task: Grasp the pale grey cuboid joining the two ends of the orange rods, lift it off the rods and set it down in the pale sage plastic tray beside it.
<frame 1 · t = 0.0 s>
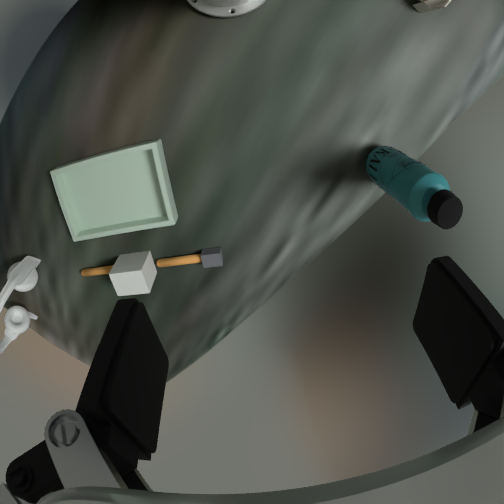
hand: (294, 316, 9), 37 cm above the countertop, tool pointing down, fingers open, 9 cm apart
architectural model: (421, 1, 29), on the countertop
headset: (30, 285, 53), on the countertop
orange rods: (138, 263, 51), on the countertop
tray: (114, 190, 44), on the countertop
pale grey cuboid: (138, 263, 51), on the countertop
beverage bottle: (377, 161, 44), on the countertop
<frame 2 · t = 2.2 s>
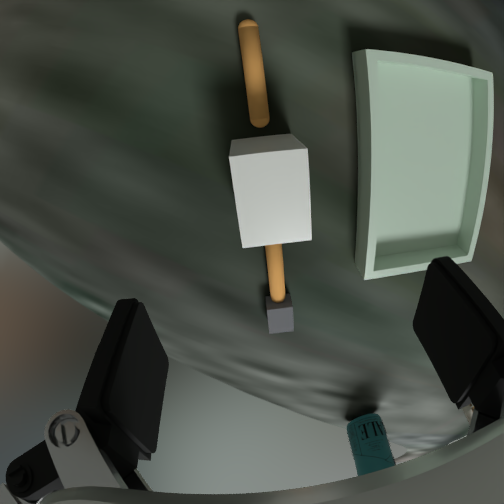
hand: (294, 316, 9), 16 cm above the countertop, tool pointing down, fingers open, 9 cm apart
architectural model: (464, 399, 50), on the countertop
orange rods: (265, 173, 23), on the countertop
tray: (422, 163, 23), on the countertop
pale grey cuboid: (265, 173, 23), on the countertop
beverage bottle: (361, 414, 44), on the countertop
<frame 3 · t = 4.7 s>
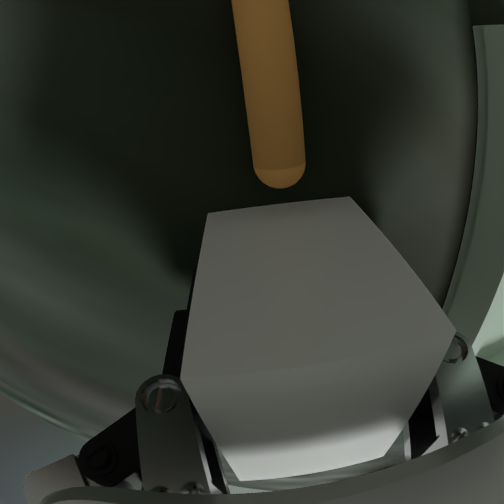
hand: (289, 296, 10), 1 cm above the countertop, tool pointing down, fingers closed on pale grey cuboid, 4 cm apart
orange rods: (286, 282, 11), on the countertop
pale grey cuboid: (286, 282, 11), on the countertop, touching gripper
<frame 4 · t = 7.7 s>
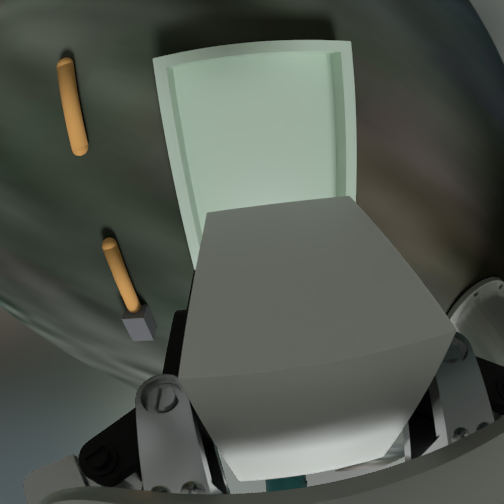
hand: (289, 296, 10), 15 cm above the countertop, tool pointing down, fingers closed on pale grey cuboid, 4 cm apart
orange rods: (97, 195, 23), on the countertop
tray: (264, 167, 23), on the countertop
pale grey cuboid: (285, 281, 11), point 14 cm above the countertop, touching gripper
beverage bottle: (278, 424, 45), on the countertop
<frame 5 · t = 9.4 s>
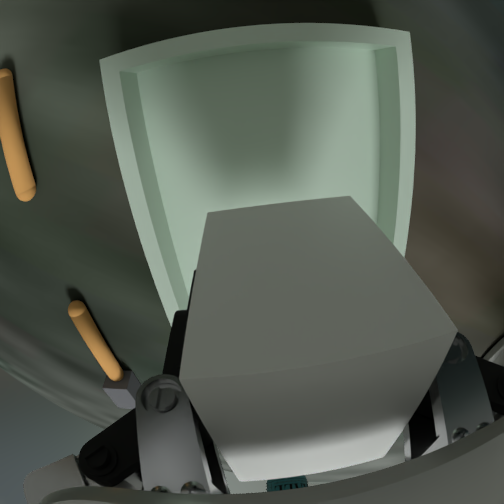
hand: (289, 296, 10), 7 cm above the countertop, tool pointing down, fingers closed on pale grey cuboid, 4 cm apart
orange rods: (55, 249, 16), on the countertop
tray: (275, 216, 16), on the countertop
pale grey cuboid: (286, 281, 11), point 6 cm above the countertop, touching gripper
beverage bottle: (285, 470, 38), on the countertop
when the fingers open (3 cm above the countertop, at t = 10.9 s): pale grey cuboid drops 1 cm, resting on tray.
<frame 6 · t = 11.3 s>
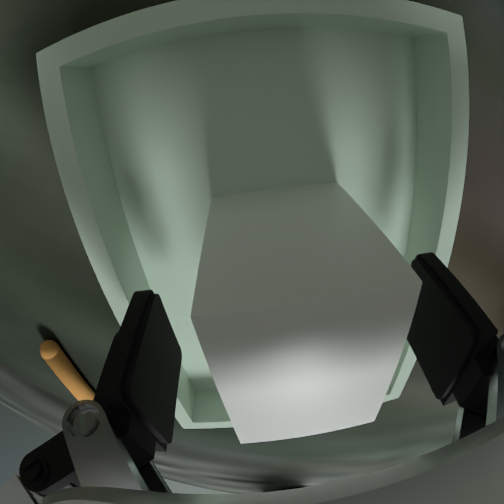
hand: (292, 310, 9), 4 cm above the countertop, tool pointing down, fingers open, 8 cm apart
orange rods: (19, 284, 13), on the countertop
tray: (279, 252, 12), on the countertop
pale grey cuboid: (282, 260, 12), point 1 cm above the countertop, touching tray
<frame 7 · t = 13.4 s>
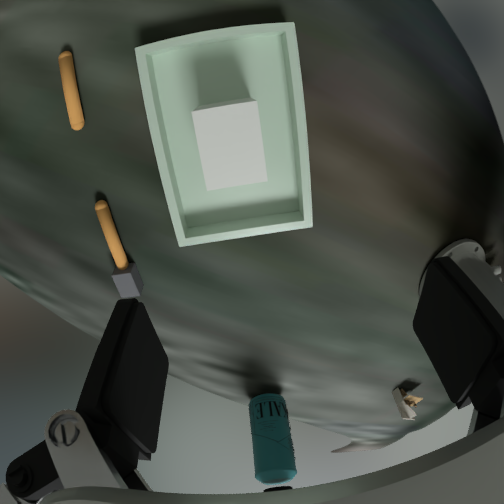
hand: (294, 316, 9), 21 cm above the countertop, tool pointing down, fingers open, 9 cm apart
architectural model: (400, 388, 55), on the countertop
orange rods: (91, 163, 26), on the countertop
tray: (229, 132, 26), on the countertop
pale grey cuboid: (230, 133, 25), point 1 cm above the countertop, touching tray
beverage bottle: (265, 393, 48), on the countertop
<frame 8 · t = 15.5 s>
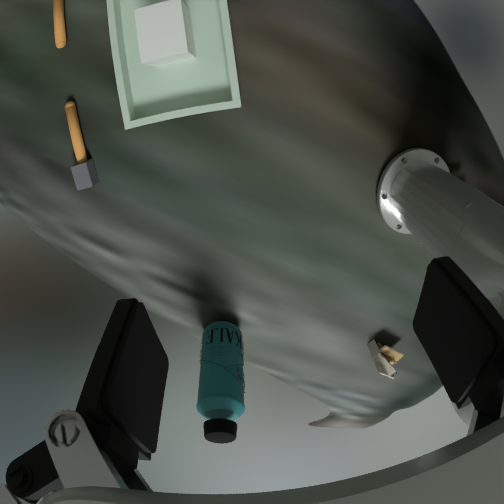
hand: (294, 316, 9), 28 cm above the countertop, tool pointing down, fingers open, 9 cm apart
architectural model: (377, 343, 54), on the countertop
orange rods: (67, 74, 27), on the countertop
tray: (173, 39, 26), on the countertop
pale grey cuboid: (172, 38, 26), point 1 cm above the countertop, touching tray
beverage bottle: (222, 326, 48), on the countertop
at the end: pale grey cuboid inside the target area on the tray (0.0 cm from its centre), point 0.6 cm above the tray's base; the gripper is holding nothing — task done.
